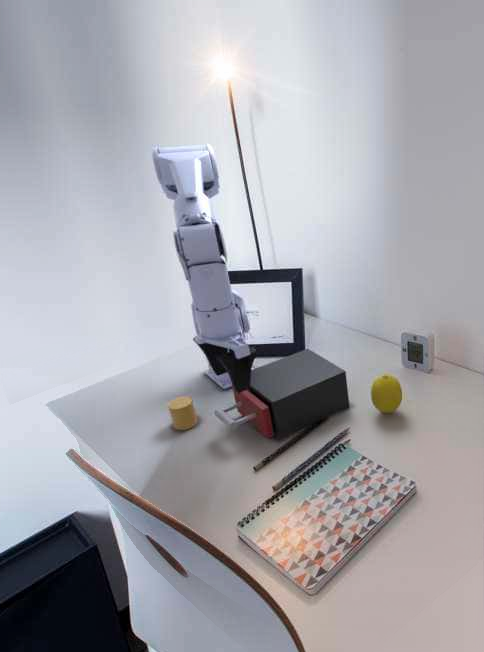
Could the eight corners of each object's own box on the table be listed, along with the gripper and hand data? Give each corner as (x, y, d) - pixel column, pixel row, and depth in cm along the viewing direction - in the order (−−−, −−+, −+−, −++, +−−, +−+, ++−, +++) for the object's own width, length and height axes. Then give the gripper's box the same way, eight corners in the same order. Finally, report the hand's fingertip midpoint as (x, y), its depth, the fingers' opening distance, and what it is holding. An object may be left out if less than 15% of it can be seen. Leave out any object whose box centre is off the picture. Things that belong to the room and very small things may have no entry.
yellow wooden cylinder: (170, 423, 95) (163, 402, 93) (192, 414, 97) (186, 394, 95) (179, 433, 92) (172, 411, 90) (201, 423, 95) (195, 402, 92)
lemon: (399, 423, 93) (397, 384, 89) (369, 420, 94) (365, 381, 90) (406, 405, 98) (404, 368, 94) (377, 403, 99) (374, 366, 95)
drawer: (240, 451, 86) (233, 422, 83) (211, 422, 93) (204, 394, 90) (334, 407, 97) (331, 379, 94) (301, 384, 104) (297, 358, 101)
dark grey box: (279, 440, 90) (272, 402, 86) (245, 410, 98) (237, 375, 94) (349, 406, 98) (345, 371, 95) (312, 381, 106) (307, 348, 103)
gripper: (170, 299, 83) (191, 374, 89) (208, 326, 73) (228, 408, 80) (213, 287, 87) (230, 360, 93) (255, 311, 77) (270, 390, 84)
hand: (232, 381), depth 87 cm, fingers open, 7 cm apart
